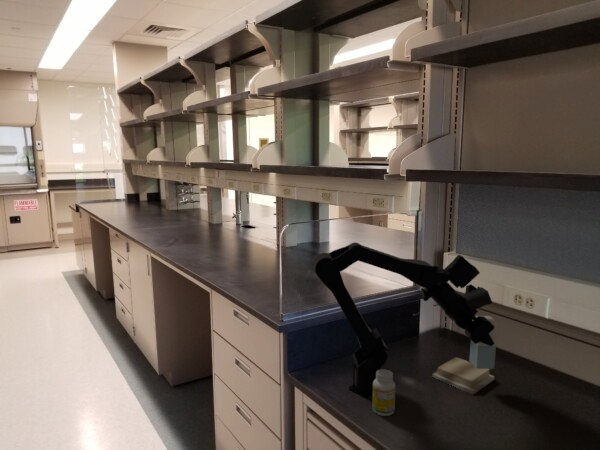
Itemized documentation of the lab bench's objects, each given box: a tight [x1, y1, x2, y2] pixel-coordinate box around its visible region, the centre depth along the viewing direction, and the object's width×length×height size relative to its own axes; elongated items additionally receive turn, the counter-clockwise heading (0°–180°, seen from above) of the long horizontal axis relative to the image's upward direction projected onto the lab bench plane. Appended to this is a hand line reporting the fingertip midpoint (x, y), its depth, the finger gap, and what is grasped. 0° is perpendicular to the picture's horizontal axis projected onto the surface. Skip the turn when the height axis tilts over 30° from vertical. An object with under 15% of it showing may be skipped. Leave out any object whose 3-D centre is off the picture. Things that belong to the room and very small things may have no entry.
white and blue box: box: [468, 315, 499, 370], centre depth 112 cm, size 5×5×12 cm
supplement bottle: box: [371, 368, 396, 417], centre depth 104 cm, size 5×5×10 cm
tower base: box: [431, 356, 495, 396], centre depth 119 cm, size 12×12×3 cm
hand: (488, 340), depth 112 cm, fingers closed on white and blue box, 5 cm apart
